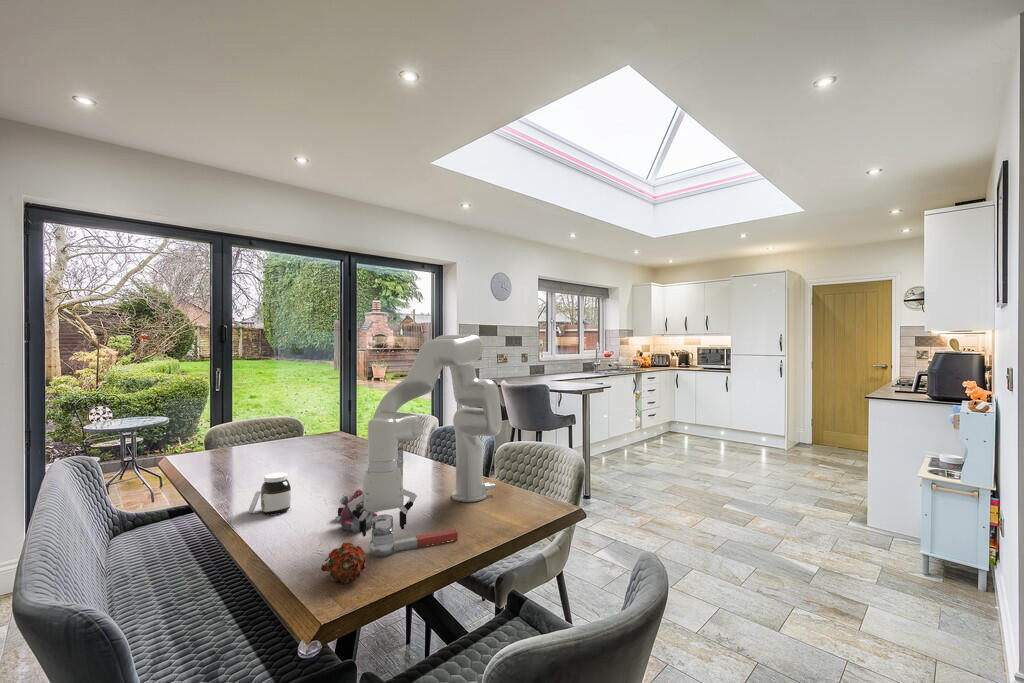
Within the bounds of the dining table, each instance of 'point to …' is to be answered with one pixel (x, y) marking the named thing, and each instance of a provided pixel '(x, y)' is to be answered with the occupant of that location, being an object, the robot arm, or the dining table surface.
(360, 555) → the dragon fruit
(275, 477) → the spread jar
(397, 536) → the dining table surface
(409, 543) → the ratchet
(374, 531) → the socket
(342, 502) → the brake caliper
